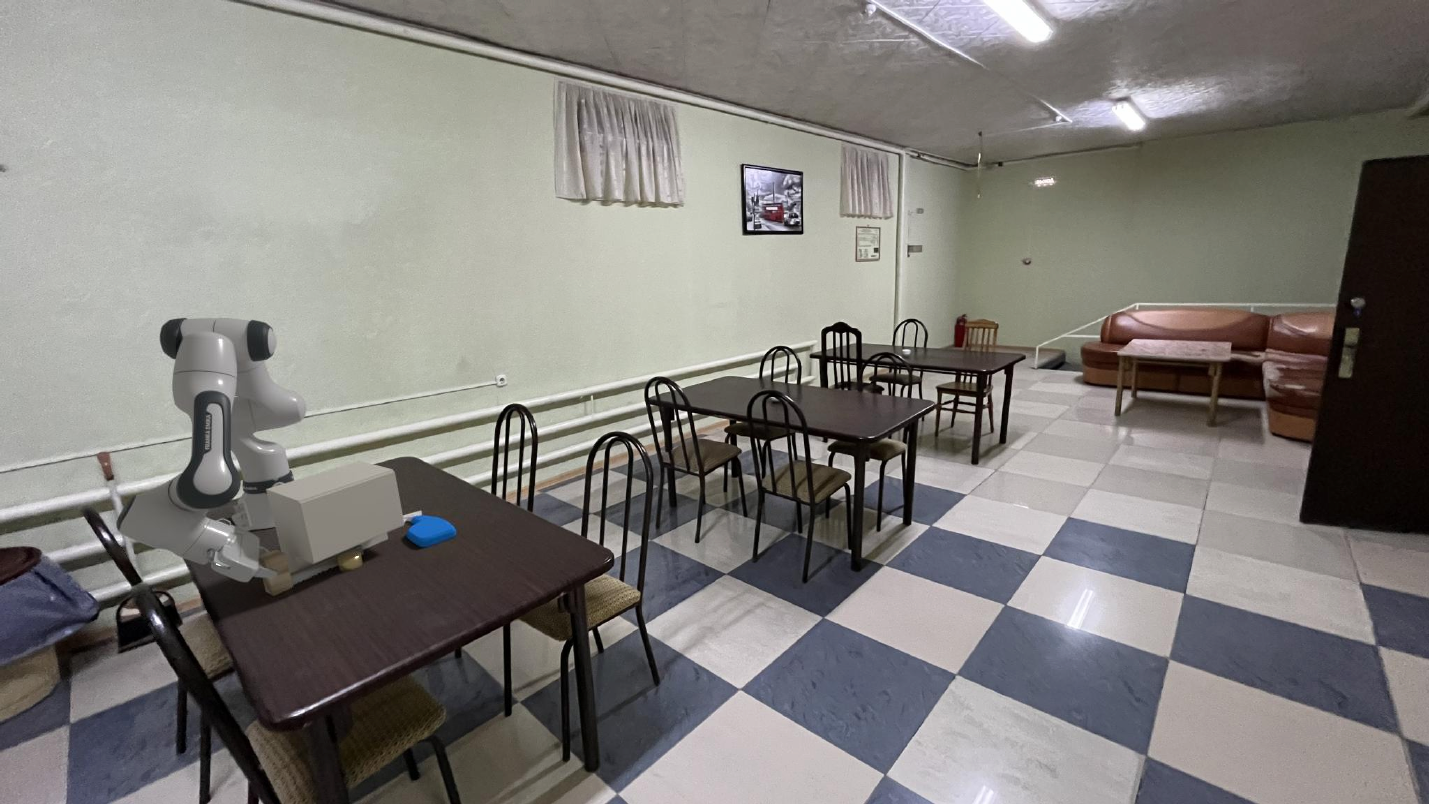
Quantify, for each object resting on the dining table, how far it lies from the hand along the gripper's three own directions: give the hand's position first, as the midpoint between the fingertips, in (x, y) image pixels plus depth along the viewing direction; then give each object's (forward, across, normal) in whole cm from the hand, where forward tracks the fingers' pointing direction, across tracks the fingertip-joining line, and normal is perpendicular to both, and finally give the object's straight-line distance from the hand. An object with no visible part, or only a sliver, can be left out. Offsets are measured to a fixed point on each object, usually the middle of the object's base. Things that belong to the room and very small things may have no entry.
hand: (275, 567), depth 132 cm
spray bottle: (+28, +12, -19) cm, 36 cm away
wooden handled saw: (+9, +3, -1) cm, 10 cm away
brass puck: (+14, +1, -6) cm, 16 cm away
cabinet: (+14, +7, -6) cm, 17 cm away
